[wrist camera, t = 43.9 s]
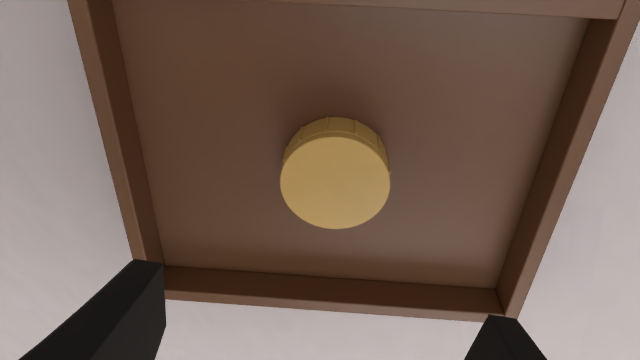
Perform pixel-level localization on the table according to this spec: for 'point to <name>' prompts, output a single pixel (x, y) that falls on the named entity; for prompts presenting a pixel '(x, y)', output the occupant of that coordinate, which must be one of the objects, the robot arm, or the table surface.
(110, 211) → the table surface
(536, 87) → the tray
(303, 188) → the cap
